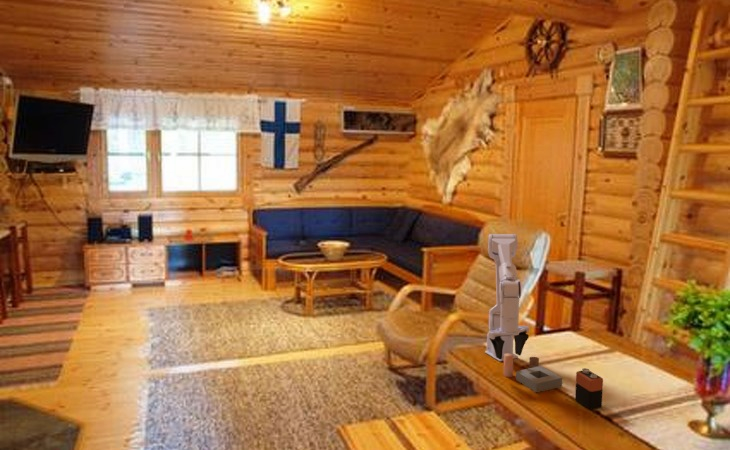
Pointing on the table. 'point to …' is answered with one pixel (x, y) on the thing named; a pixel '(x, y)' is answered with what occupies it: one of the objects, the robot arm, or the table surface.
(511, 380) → the table surface
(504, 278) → the robot arm
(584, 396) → the battery
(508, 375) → the long peg
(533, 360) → the short peg
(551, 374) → the hole block
